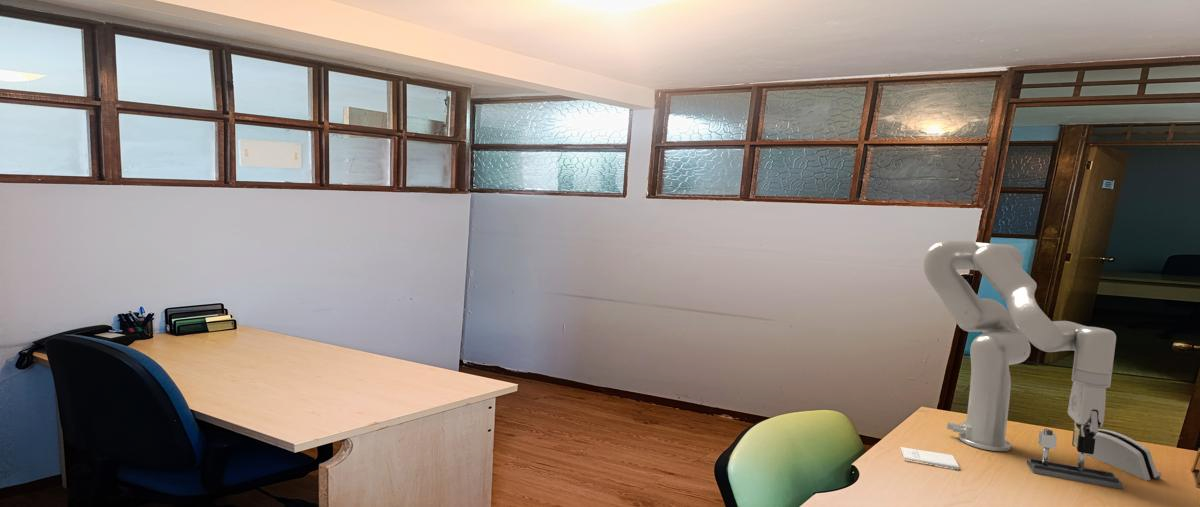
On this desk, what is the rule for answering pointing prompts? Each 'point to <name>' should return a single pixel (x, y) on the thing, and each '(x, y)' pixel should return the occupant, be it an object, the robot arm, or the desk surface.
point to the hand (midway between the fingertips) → (1082, 449)
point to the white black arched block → (1124, 454)
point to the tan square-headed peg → (1075, 443)
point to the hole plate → (1068, 466)
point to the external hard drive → (930, 457)
